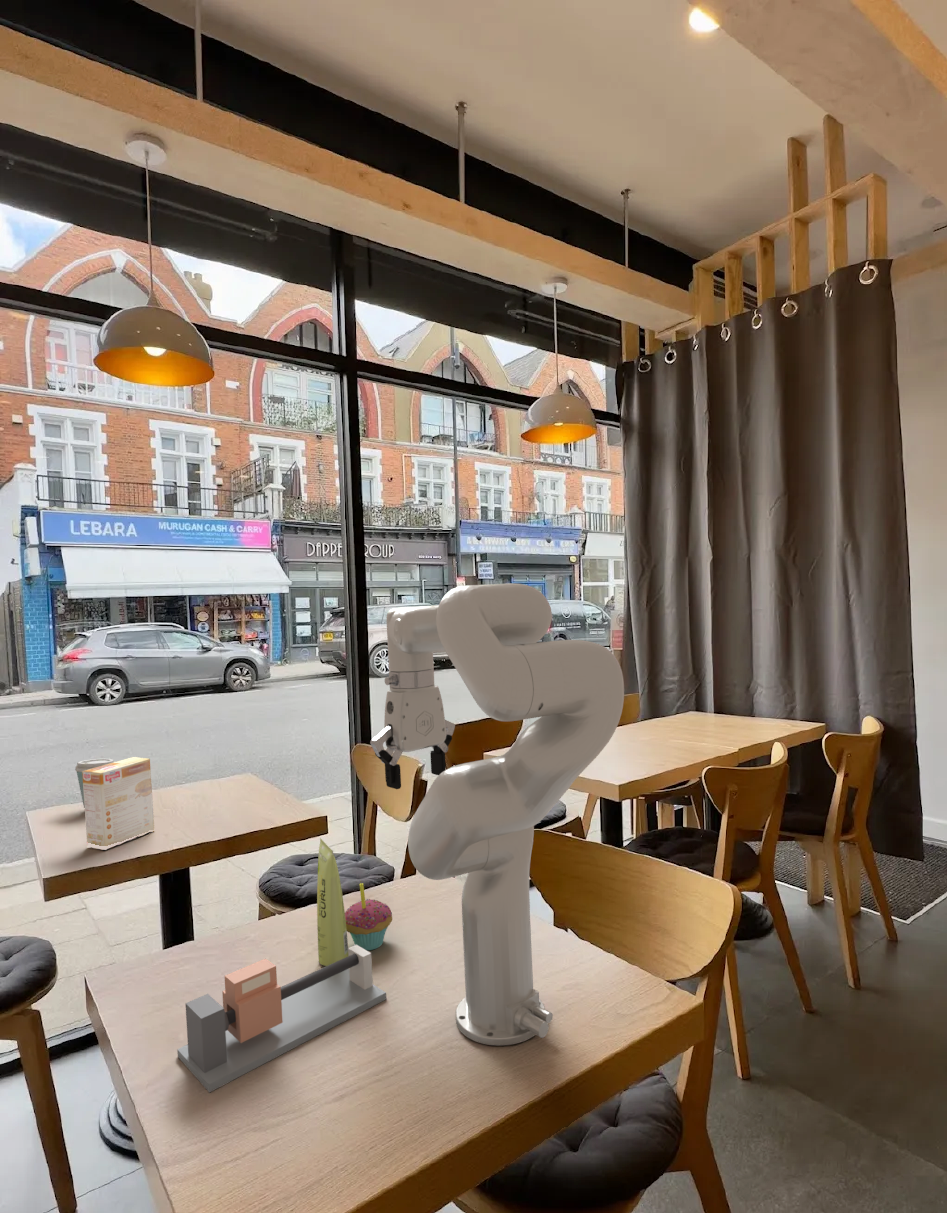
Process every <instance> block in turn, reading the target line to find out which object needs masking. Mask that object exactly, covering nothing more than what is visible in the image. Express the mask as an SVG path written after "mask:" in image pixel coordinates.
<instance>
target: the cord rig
mask: <svg viewBox="0 0 947 1213" xmlns="http://www.w3.org/2000/svg"><path fill="white" fill-rule="evenodd" d="M372 961H373V960H372V952H370V951H369V950H365V949H363V948H361V947H360V946H358V945H355V944H354V945H352V946H349V947H348V957H346V958H343V959H341V960H339V961H337V962H335V963H333V964H330V965H328V966H324V967H322V968H320V969H318V970H315V971H313V972H311V973H308V974H307V975H304V976H302V977H300V978H298V979H296V980H293V981H291V982H289V983H286V984H285V985H283V986H281V1003H282V1021H283V1023H281V1024H279V1025H277V1026H275V1027H273V1028H271V1029H269V1030H267V1031H264V1032H262V1033H260V1034H258V1035H256V1036H254V1037H252V1038H250V1039H248V1040H246V1041H244V1042H242V1043H240V1042H239V1041H238V1040H237V1039H236V1038H235V1037H234V1036H233V1035H232V1034H231V1033H230V1032H229V1031H228V1028H229V1025H230V1024H232V1023H234V1022H236V1015H235V1010H234V1009H232V1010H230V1011H227V1012H225V1011H224V1008H223V1005H221V1004H220V1003H219V1002H218V1001H216V999H214V997H212V996H211V995H210V994H209V993H206V994H203V995H202V996H200V997H197V998H194V999H192V1000H190V1001H188V1002H185V1015H186V1016H185V1018H186V1033H187V1044H185V1045H183V1046H181V1047H179V1048H177V1049H176V1050H177V1057H178V1059H179V1061H181V1062H182V1063H183V1064H184V1066H186V1068H187V1069H188V1071H190V1072H191V1074H192V1075H193V1076H194V1077H195V1078H196V1079H197V1080H198V1081H199V1083H200V1084H201V1085H202V1086H203V1087H204V1088H205V1089H206V1090H207V1092H208V1093H211V1092H213V1091H215V1090H217V1089H219V1088H220V1087H222V1086H224V1085H226V1084H228V1083H230V1082H232V1081H234V1080H236V1079H238V1078H239V1077H242V1076H243V1075H245V1074H247V1073H250V1072H251V1071H252V1070H255V1069H256V1068H258V1067H260V1066H262V1065H264V1064H266V1063H268V1062H270V1061H272V1060H274V1059H276V1058H278V1057H280V1056H281V1055H283V1054H285V1053H287V1052H288V1051H290V1050H292V1049H293V1050H294V1049H295V1048H296V1047H299V1046H300V1045H302V1044H304V1043H306V1042H308V1041H310V1040H312V1039H314V1038H316V1037H317V1036H319V1035H321V1034H323V1033H325V1032H327V1031H328V1030H330V1029H333V1028H335V1027H337V1026H338V1025H340V1024H342V1023H344V1022H346V1021H349V1020H350V1019H351V1018H353V1017H355V1016H357V1015H359V1014H361V1013H364V1012H365V1011H367V1010H369V1009H370V1008H372V1007H374V1006H376V1005H378V1004H380V1003H382V1002H383V1001H385V1000H387V992H386V991H385V990H383V989H381V988H380V987H378V986H377V985H375V984H374V981H373V980H374V978H373V963H372Z"/></svg>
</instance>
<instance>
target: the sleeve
mask: <svg viewBox="0 0 947 1213" xmlns="http://www.w3.org/2000/svg"><path fill="white" fill-rule="evenodd" d="M277 977H278V975H277V965H276V964H274V963H272V962H271V961H270V960H268V959H267V958H263V959H261V960H258V961H255V962H254V963H251V964H249V965H247V966H244V967H241V968H240V969H237V970H234V971H233V972H231V973H227V974H225V975H224V987H225V988H224V990H222V1007H223V1008H224V1011H225V1012H227V1011H230V1010H232V1009H234V1010H235V1015H236V1022H234V1023H232V1024H230V1025H229V1028H228V1031H229V1032H230V1033H231V1034H232V1035H233V1036H234V1037H235V1038H236V1039H237V1040H238V1041H239V1042H240V1043H242V1042H244V1041H246V1040H248V1039H250V1038H252V1037H254V1036H256V1035H258V1034H260V1033H262V1032H264V1031H267V1030H269V1029H271V1028H273V1027H275V1026H277V1025H279V1024H281V1023H283V1021H282V1003H281V987H282V986H281V985H279V984H278V979H277Z"/></svg>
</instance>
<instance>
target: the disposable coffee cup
mask: <svg viewBox="0 0 947 1213" xmlns="http://www.w3.org/2000/svg"><path fill="white" fill-rule="evenodd" d="M114 762H116V761H115V760H114V759H112V758H91V759H85V760H80V761H78V762H77V765H76V766H75V769H74V770H75V772H76V775H77V780H78V785H79V790H80V796H81V800H82V804H83V809H84V808H85V805H84V791H83V776H82V771H85V770H89V769H92V768H96V767H99V766H103V765H106V764H110V763H114Z"/></svg>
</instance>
